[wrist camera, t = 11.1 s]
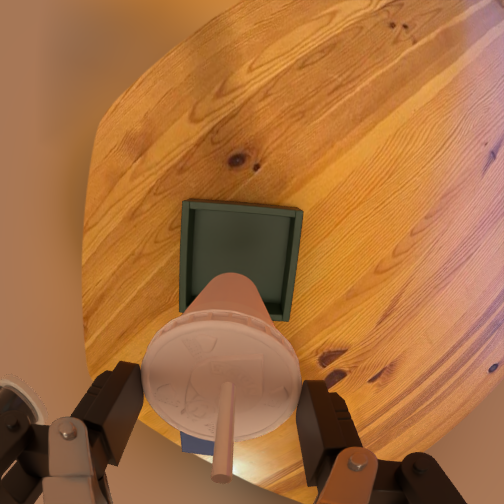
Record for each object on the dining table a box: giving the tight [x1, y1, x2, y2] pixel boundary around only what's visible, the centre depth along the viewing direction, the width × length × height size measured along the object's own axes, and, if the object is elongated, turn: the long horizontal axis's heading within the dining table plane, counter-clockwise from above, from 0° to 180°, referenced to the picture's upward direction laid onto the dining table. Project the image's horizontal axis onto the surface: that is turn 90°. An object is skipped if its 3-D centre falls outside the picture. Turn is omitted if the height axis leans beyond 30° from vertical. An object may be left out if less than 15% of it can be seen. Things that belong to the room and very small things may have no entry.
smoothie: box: [141, 273, 302, 484], centre depth 13 cm, size 6×6×14 cm
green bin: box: [179, 199, 303, 322], centre depth 29 cm, size 11×11×4 cm
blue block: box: [180, 431, 215, 456], centre depth 34 cm, size 4×4×4 cm
